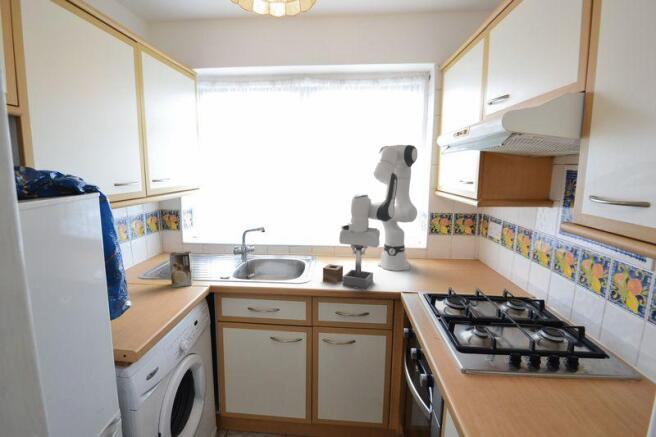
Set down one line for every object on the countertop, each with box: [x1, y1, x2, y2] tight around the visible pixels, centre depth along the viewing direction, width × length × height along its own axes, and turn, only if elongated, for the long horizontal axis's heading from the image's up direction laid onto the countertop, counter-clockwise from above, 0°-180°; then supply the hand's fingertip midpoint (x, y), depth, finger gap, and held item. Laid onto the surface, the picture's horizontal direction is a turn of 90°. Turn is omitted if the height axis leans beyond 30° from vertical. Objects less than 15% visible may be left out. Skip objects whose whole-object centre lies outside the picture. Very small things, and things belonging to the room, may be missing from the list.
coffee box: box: [169, 251, 194, 288], centre depth 155 cm, size 9×6×16 cm
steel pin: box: [354, 245, 364, 274], centre depth 157 cm, size 5×5×14 cm
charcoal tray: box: [342, 269, 374, 290], centre depth 159 cm, size 12×12×5 cm
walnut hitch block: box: [322, 263, 344, 284], centre depth 165 cm, size 8×8×7 cm
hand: (358, 254), depth 157 cm, fingers closed on steel pin, 3 cm apart
